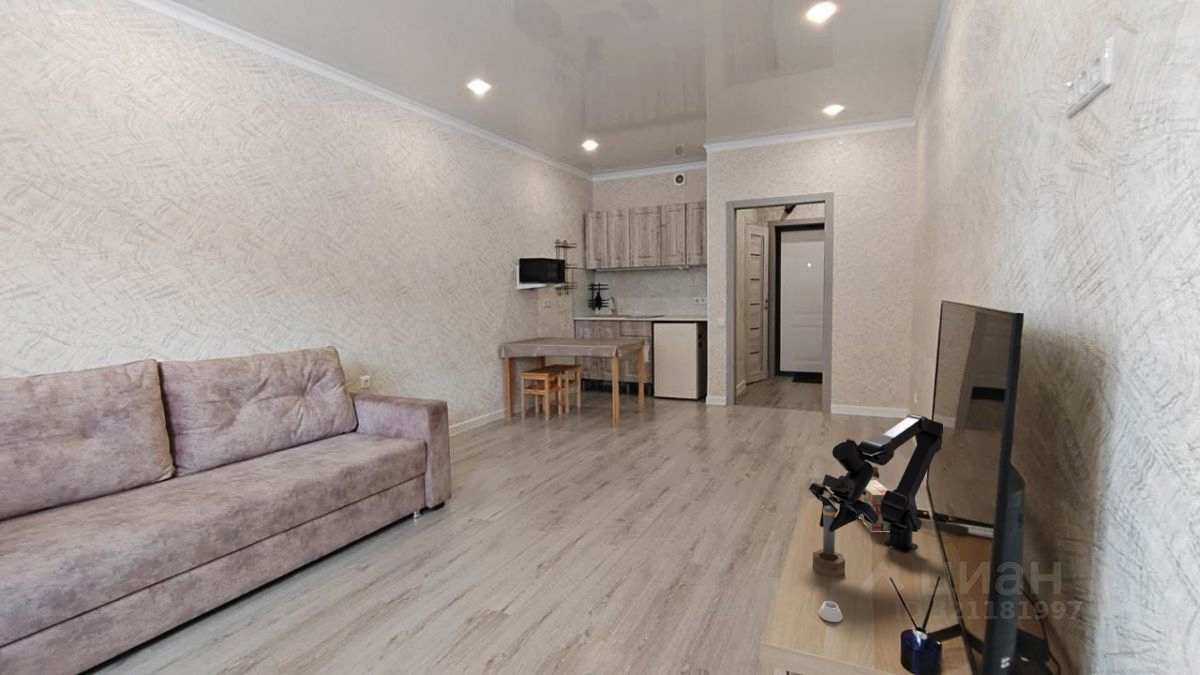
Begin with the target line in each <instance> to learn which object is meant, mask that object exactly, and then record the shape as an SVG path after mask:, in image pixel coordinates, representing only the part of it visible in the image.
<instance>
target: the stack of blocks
mask: <svg viewBox="0 0 1200 675" xmlns="http://www.w3.org/2000/svg"><path fill="white" fill-rule="evenodd" d="M887 490H889V489H888V488H887V487H885V486H884V485H883V484H881V483H880V482H879V481H878V480H876V479H871V480H870V482H869V484H868V485H867V487H866V488H865V491H866V492H867V493H866V495H865V496H864V495H861V496H860V498H859V500H860V501H862V502H865V503H867V504H869V505H871V507H872V508H873V509H874V510H875V511H876V512H877V513H878V521H877V522H876V524H875V525H874V524H871V523H869V522H867V521H865V519H864V515H863V514H860V516H859V517H860V518H861V519H862V520H863V521H864V522H865V523H866V524H867V526H868V528H869V529H870V530H871V531H890V523H887V522H884V521H883V519H882V515H881V512H880V505H881V501H882V499H883V498H884V495H885V492H886V491H887ZM868 528H867V529H868ZM869 529H868V530H869ZM870 530H869V531H870ZM871 531H870V532H871Z"/></svg>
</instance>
